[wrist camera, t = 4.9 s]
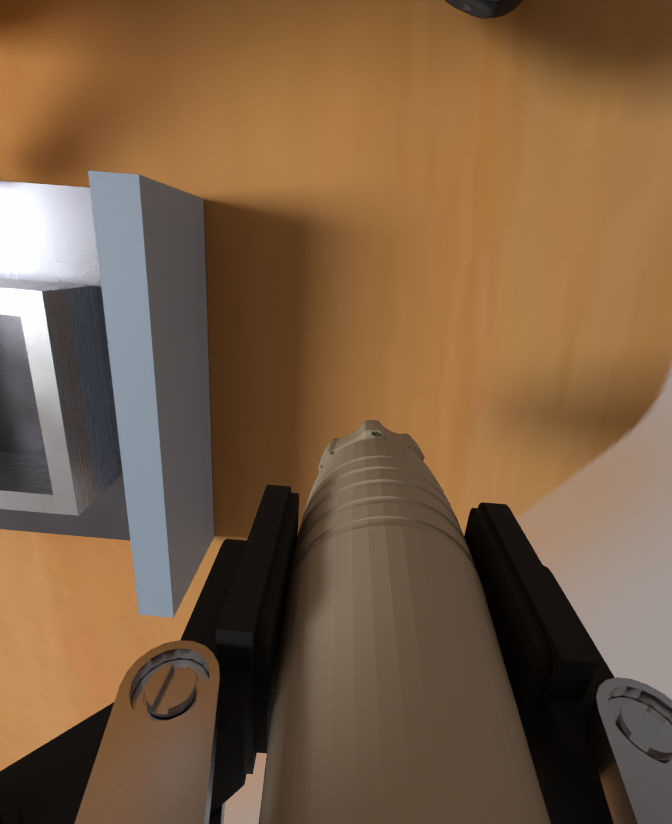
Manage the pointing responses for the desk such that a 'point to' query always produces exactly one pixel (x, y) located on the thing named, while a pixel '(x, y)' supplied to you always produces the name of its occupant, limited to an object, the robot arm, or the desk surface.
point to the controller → (485, 7)
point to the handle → (390, 659)
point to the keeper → (55, 370)
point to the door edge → (158, 375)
